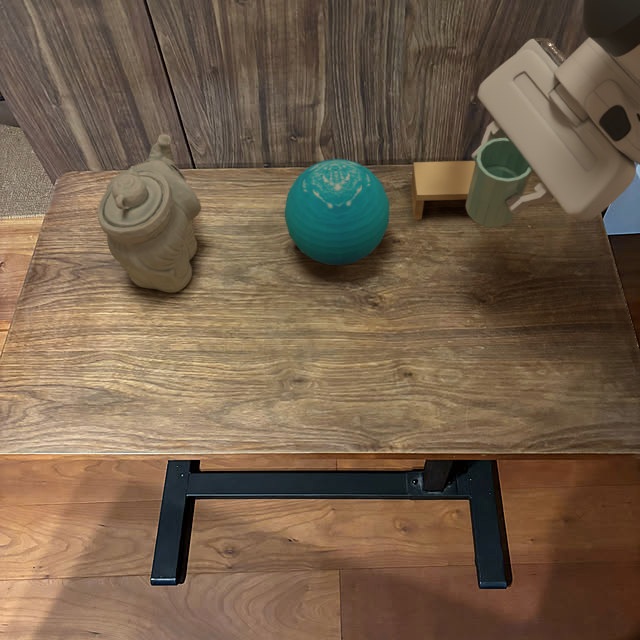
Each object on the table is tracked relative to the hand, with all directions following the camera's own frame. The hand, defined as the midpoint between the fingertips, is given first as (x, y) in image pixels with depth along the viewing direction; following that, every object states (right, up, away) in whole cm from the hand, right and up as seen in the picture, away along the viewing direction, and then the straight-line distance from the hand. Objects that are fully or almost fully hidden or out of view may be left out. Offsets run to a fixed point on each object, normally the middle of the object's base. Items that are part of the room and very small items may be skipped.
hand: (493, 185), depth 71 cm
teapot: (-43, -5, +26) cm, 50 cm away
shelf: (+2, +3, +29) cm, 29 cm away
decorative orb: (-17, -4, +25) cm, 30 cm away
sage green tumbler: (+1, -2, +4) cm, 5 cm away
